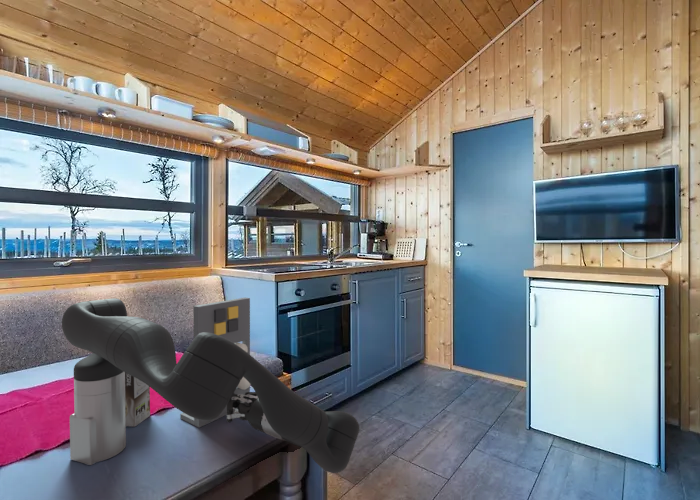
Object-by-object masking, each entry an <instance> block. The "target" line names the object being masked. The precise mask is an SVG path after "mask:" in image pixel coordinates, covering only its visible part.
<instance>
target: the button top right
mask: <svg viewBox="0 0 700 500" xmlns="http://www.w3.org/2000/svg"><path fill="white" fill-rule="evenodd" d="M234 344H236V345H237V346H239V347H240V348H242V349H243V350H244V351H246V352H248V348H247V346H246V345H245V344H242V342H238V343H234Z"/></svg>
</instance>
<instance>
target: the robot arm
mask: <svg viewBox="0 0 700 500" xmlns="http://www.w3.org/2000/svg"><path fill="white" fill-rule="evenodd" d="M127 311H128V310H127V308H126V305H125V303H124V302H123V300H122V299H119V298H113V297H112V298H104V299H103V298H102V299H94V300H88V301H81V302H76V303H74V304H71V305H69V306H68V307H67V308H66V309H65V311H64V312H63V316H62V318H61V329H62V332H63V335H64V337H65V339H66V340H67V341H68V342H69V344H71V345H72V346H73V347H76V348H78V349H80V350H85V351H87V352H90V353H91V354H89V355H87V356H85V357H84V358H82V359H80V360H79V361H78V362H76V363H75V365H74V367H73V403H74V404H73V406H74V408H73V409H74V411H73V412H74V413H72V414H70V415H69V444H70V445H69V449H70V450H69V451H70V452H69V453H70V454H69V455H70V460H71V461H74V462H77V463H81V464H85V465H88V466H93V465H94V464H96V463H98V462H103V461H106V460H108V459H111V458H113V457H115V456H117V455H118V454H120V453H121V452H122V451H123V450H124V449H125V448H126V446H127V436H126V435H127V434H126V433H127V430H126V429H127V428H126V427H127V426H126V413H125V372H126V373H127V374H129V375H131V376H133V377H135V378H137V379H139V380H141V381H142V382H144V383H145V384H147V385H148V386H149V387H150V389H152V390H153V391H155V392H156V393H157V395H160V396H161V397H162V399H164V400H165V401H167V403H169V404H170V405H172V406H173V407H175V408H176V409H177V410H179V411H180V412H182V413H185V414H187V415H189V416H191V417H193V418H196V419H200V420H213V419H215V418H217V417H218V416H219V415H220V414H221V413H222V411H223V410H224V409H225V407H226V405H227V415H226V423H232V422H233V420H234V419H237V418H238V419H240V420H241V421H247V422H248V423H249V425H250V426H251V427H252V428H253V429H255V430H257V431H259V432H262V433H263V434H266V435H268V436H271V437H272V438H276V439H279V440H283V441H285V442H288V443H290V444H292V445H294V446H297V447H299V448H303V449H304V450H305V451H306V452H307V453H308V454H309V456H310V457H311V459H312V460H313V461H314V462H315V463H316V464H317V465H318V466H319V467H320V468H321V469H323V470H324V471H326V472H328V473H331V474H338V473H341V472H342V471H344V470H345V469H346V468H347V467H348V465H349V463H350V459H351V456H352V453H353V451H354V448H355V445H356V442H357V439H358V437H359V433H360V424H359V422H358V420H357V419H356V417H354V416H353V415H352V414H350V413H348V412H345V411H341V410H340V411H339V410H338V411H337V410H334V411H333V410H331V411H330V410H329V411H326V410H325V411H324V410H323V409H321V408H320V407H319V406H317V405H316V404H314V403H312V402H311V401H309V400H307V399H306V398H304V397H302V396H301V395H299V394H298V393H296V392H294V391H293V390H292V389H291V388H290V387H288V385H286V384H285V383H284V382H283V381H282V380H281V379H279V378H278V377H277V376H276V375H275V374H274V373H272V372H271V371H270V370H269V369H268V368H267V367H266V366H264V365H263V364H262V363H260V362H259V361H258V360H257V359H256V358H254V357H253V356H252V355H251V354H250V355H249V354H248V353H247V352H246V351H244V350H243V349H242V348H240V347H239V346H237V345H236V344H234V343H233V342H231V341H229V340H227V339H225V338H223V337H221V336H219V335H216V334H213V333H209V332H202V333H199V334H198V335H197V336H196V337H195V338H194V337H193V339H192V341H191V342H190V344H189V345H188V346H187V348H186V349H185V351H184V352H183V354H182V356H181V357H180V359H179V360H178V361H177V354H176V347H175V344H174V339H173V338H172V334H171V333H170V332H169V331H168V330H167V328H166V327H164V325H161V324H158V323H156V322H154V321H152V320H149V319H146V318H143V317H137V316H128V312H127ZM243 377H244V378H245V379H246V380H247V381H248V382H249V383H250V384H251V385H250V386H251V387H252V389H253V390H254V391H250V392H246V393H245V395H243V394H238V395H237V394H234V391H235V390H236V388H237V386H238V384H239V383H240V380H241V379H242V378H243Z"/></svg>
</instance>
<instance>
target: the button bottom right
mask: <svg viewBox="0 0 700 500" xmlns="http://www.w3.org/2000/svg"><path fill="white" fill-rule="evenodd" d="M249 386H250V387H251V386H252V385H251V384H250V383H249V382H248V381H247V380H246V379H245V378H244V377H243V378H242V379H241V380H240V383H239V384H238V386H237V387H238V388H240V389H243V390H245V389H247V388H248V387H249Z"/></svg>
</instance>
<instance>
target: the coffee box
mask: <svg viewBox="0 0 700 500" xmlns="http://www.w3.org/2000/svg"><path fill="white" fill-rule="evenodd" d="M150 389H151V387H149V386H148V385H147V384H145V383H144V382H142V381H141V380H139V379H137V378H135V377H133V376H131V375H129V374H127V373H126V372H125V413H126V427H133V428H134V427H137V426H138V425H140V424H141V423H142V422H143V421H145V420H146V419H147V418H149V417H150V416H151V391H150Z"/></svg>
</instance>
